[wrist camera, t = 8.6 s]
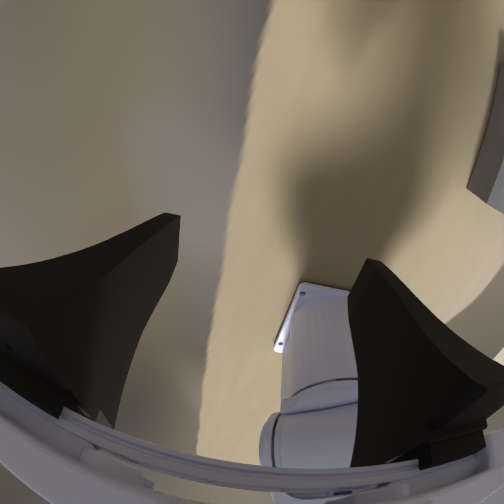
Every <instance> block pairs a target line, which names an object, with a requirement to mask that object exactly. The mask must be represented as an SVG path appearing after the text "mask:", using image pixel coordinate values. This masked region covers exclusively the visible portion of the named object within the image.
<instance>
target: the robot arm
mask: <svg viewBox="0 0 504 504" xmlns="http://www.w3.org/2000/svg"><path fill="white" fill-rule="evenodd" d="M179 231H180V215H175V214H170V213H163V214H160V215H158V216H156V217H154V218H152V219H150V220H148V221H146V222H144V223H142V224H140V225H138V226H136V227H134V228H132V229H130V230H128V231H125V232H123V233H121V234H119V235H117V236H114V237H112V238H110V239H108V240H106V241H103V242H101V243H99V244H96V245H94V246H91V247H88V248H85V249H83V250H80V251H77V252H74V253H70V254H67V255H63V256H61V257H57V258H53V259H49V260H45V261H41V262H36V263H31V264H26V265H20V266H12V267H4V268H0V463H2V465H4V466H5V467H6V468H7V469H8V470H9V471H10V472H11V473H12V474H14V475H15V476H16V477H17V478H18V479H20V480H21V481H22V482H23V483H24V484H26V485H27V486H28V487H29V488H31V489H32V490H33V491H35V492H36V493H37V494H39V495H40V496H41V497H43V498H44V499H46V500H47V501H48V502H50V503H51V504H216V503H210V502H204V501H198V500H193V499H188V498H184V497H179V496H175V495H171V494H167V493H163V492H159V491H156V490H153V486H154V482H153V481H152V480H151V479H149V478H147V477H145V476H143V475H142V472H141V470H139V469H137V468H134V467H132V466H130V465H127V464H125V463H123V462H121V461H119V460H116V459H114V458H112V457H110V456H108V455H106V454H104V453H102V452H105V453H107V454H109V455H112V456H114V457H117V458H119V459H122V460H125V461H127V462H130V463H133V464H136V465H138V466H141V467H144V468H148V469H150V470H154V471H157V472H160V473H164V474H167V475H171V476H175V477H179V478H183V479H187V480H191V481H196V482H200V483H206V484H211V485H216V486H222V487H229V488H236V489H244V490H253V491H265V492H271V496H272V499H273V500H274V504H479V503H481V502H482V501H484V500H485V499H486V498H488V497H489V496H490V495H492V494H493V493H494V492H496V491H497V490H499V489H500V488H502V487H503V486H504V428H501V429H499V430H496V431H494V432H491V433H489V434H487V435H485V436H484V434H483V430H484V429H486V428H487V422H486V419H487V418H488V417H489V416H491V415H492V414H493V413H495V412H496V411H497V410H498V409H500V408H501V407H502V406H503V405H504V366H503V365H501V364H499V363H498V362H496V361H494V360H492V359H490V358H489V357H487V356H486V355H484V354H483V353H481V352H480V351H478V350H476V349H475V348H474V347H472V346H471V345H469V344H468V343H467V342H466V341H464V340H463V339H462V338H460V337H459V336H458V335H457V334H455V333H454V332H453V331H452V330H450V329H449V328H448V327H447V326H446V325H445V324H444V323H443V322H442V321H440V320H439V319H438V318H437V317H436V316H435V315H434V314H433V313H432V312H431V311H430V310H429V309H428V308H427V307H426V306H425V305H424V304H423V303H422V302H421V301H420V300H419V299H418V298H417V297H416V296H415V295H414V294H413V293H412V292H411V291H410V290H409V289H408V288H407V286H406V285H405V284H404V283H403V282H402V281H401V280H400V279H399V278H398V277H397V276H396V275H395V274H394V273H393V272H392V271H391V270H390V269H389V268H388V267H387V266H385V265H384V264H383V263H382V262H380V261H377V260H373V259H369V258H367V259H366V261H365V263H364V265H363V267H362V269H361V271H360V273H359V275H358V277H357V279H356V281H355V283H354V285H353V287H352V289H351V291H346V290H341V289H336V288H331V287H326V286H321V285H316V284H311V283H307V282H303V283H301V284H299V286H298V289H297V291H296V294H295V296H294V299H293V301H292V304H291V306H290V309H289V311H288V313H287V316H286V318H285V321H284V323H283V326H282V328H281V330H280V333H279V335H278V337H277V340H276V342H275V344H274V351H276V352H281V353H282V377H281V410H280V412H276V413H273V414H271V416H270V417H269V418H268V420H267V422H266V423H265V424H264V426H263V428H262V431H261V435H260V441H259V459H260V465H261V466H259V465H250V464H242V463H236V462H229V461H223V460H218V459H212V458H207V457H203V456H198V455H194V454H189V453H185V452H181V451H177V450H173V449H170V448H166V447H163V446H160V445H156V444H153V443H150V442H147V441H144V440H141V439H138V438H135V437H132V436H129V435H127V434H124V433H121V432H119V431H116V430H114V427H115V422H116V417H117V413H118V408H119V404H120V399H121V395H122V392H123V388H124V384H125V381H126V377H127V375H128V371H129V368H130V365H131V362H132V359H133V356H134V353H135V350H136V348H137V345H138V342H139V340H140V337H141V335H142V332H143V330H144V328H145V326H146V324H147V322H148V320H149V318H150V316H151V314H152V313H153V311H154V309H155V307H156V305H157V303H158V302H159V300H160V298H161V296H162V294H163V293H164V290H165V289H166V287H167V285H168V283H169V281H170V279H171V277H172V274H173V271H174V269H175V266H176V264H177V261H178V246H179ZM300 292H305V293H300ZM99 450H100V451H102V452H100V451H99Z"/></svg>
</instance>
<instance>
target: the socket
mask: <svg viewBox="0 0 504 504" xmlns="http://www.w3.org/2000/svg"><path fill="white" fill-rule="evenodd" d="M467 189H468V190H470V191H471V192H472V193H474V194H475V195H476V196H477V197H479V198H480V199H481V200H482V201H484V202H485V203H486V204H488V205H490V206H491V207H493V208H495V209H496V210H498V211H500V212H501V213H503V214H504V62H500V69H499V76H498V82H497V87H496V92H495V97H494V102H493V106H492V110H491V114H490V118H489V122H488V126H487V129H486V133H485V136H484V140H483V143H482V146H481V149H480V152H479V155H478V158H477V161H476V164H475V167H474V169H473V172H472V175H471V177H470V180H469V183H468V185H467Z"/></svg>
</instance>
